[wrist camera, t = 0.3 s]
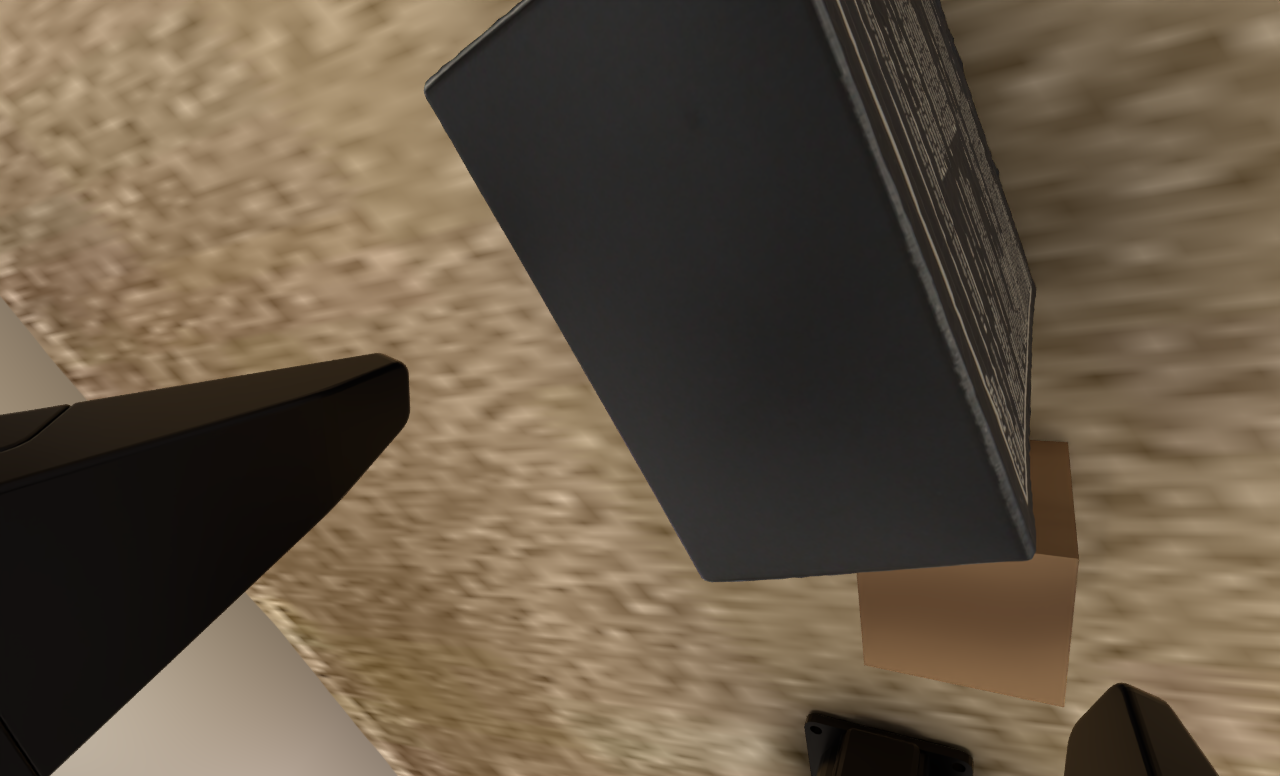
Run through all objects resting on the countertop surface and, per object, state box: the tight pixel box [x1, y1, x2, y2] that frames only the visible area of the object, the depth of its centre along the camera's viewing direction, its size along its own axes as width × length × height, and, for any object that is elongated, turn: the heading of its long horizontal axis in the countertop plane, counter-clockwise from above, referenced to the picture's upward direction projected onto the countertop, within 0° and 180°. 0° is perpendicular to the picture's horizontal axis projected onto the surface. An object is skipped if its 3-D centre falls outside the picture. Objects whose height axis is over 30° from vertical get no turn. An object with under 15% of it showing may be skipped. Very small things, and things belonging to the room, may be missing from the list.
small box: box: [424, 0, 1036, 582], centre depth 14 cm, size 11×6×10 cm, turn 31°
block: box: [857, 440, 1079, 707], centre depth 20 cm, size 5×5×5 cm
